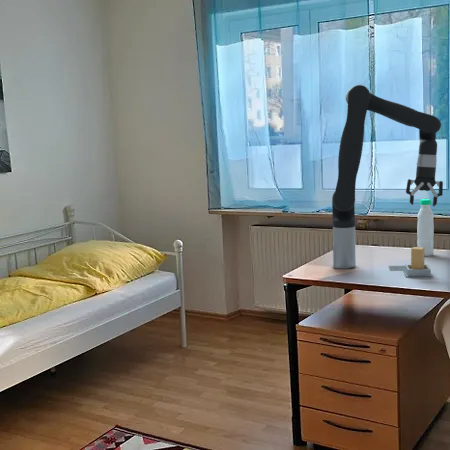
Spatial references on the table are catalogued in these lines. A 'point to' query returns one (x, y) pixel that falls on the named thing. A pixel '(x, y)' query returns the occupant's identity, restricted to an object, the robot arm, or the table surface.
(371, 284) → the table surface
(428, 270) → the tray
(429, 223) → the water bottle
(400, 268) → the jamb plate
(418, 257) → the block
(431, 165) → the robot arm
